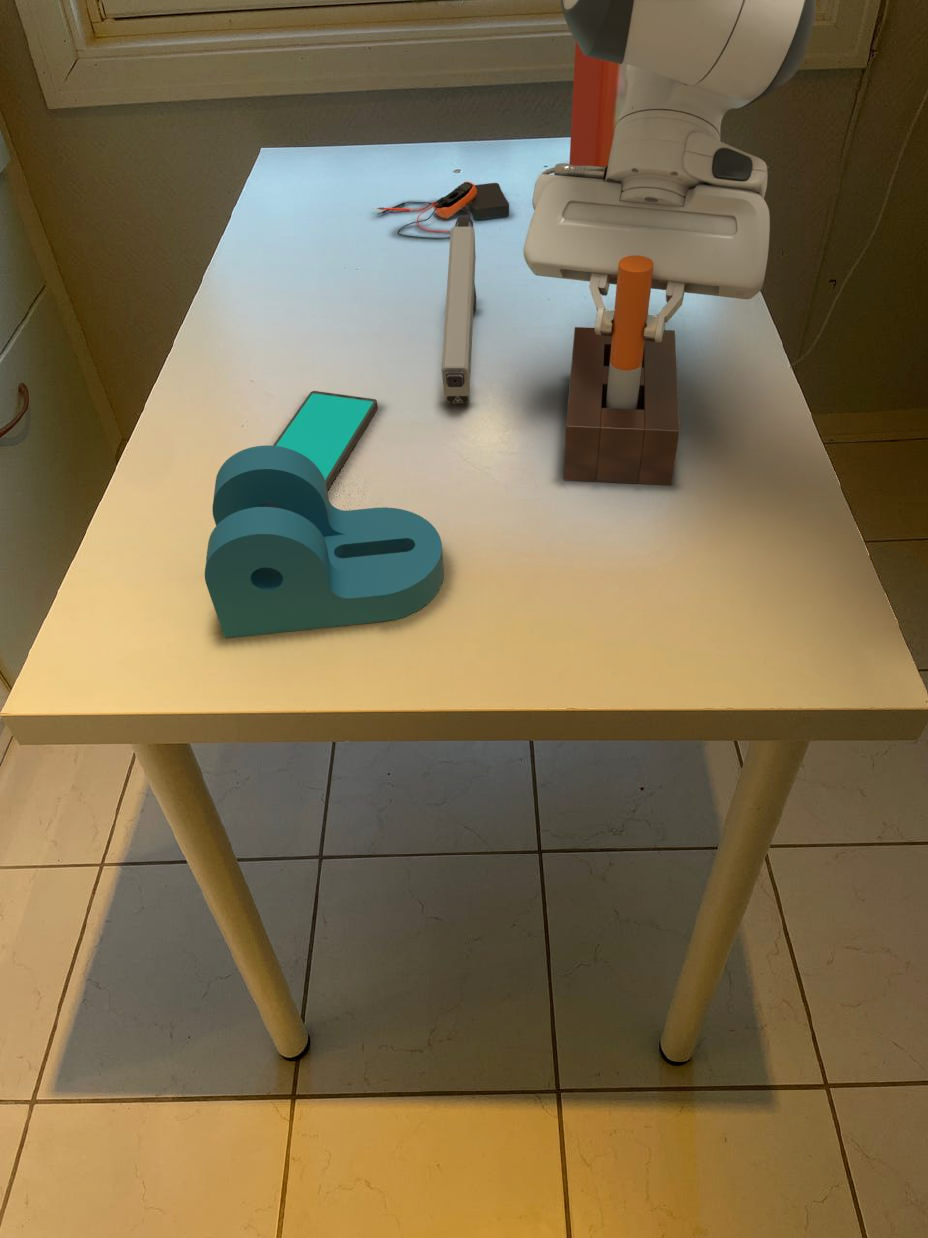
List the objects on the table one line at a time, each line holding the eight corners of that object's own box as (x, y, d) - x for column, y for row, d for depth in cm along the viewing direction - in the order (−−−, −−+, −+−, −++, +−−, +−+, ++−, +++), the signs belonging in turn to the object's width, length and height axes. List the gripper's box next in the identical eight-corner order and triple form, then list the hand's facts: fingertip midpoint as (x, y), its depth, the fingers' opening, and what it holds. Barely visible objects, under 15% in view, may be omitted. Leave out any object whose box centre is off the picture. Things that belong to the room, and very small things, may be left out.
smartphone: (377, 399, 94) (320, 492, 84) (378, 406, 94) (322, 499, 85) (310, 390, 95) (247, 479, 86) (312, 397, 96) (249, 487, 86)
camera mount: (224, 638, 74) (191, 540, 66) (233, 548, 81) (203, 451, 73) (449, 614, 75) (442, 515, 67) (438, 527, 82) (430, 429, 74)
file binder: (626, 188, 127) (651, -103, 104) (652, 246, 116) (687, -67, 92) (567, 192, 127) (579, -99, 104) (588, 250, 116) (607, -62, 92)
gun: (478, 276, 110) (475, 201, 101) (471, 441, 97) (467, 372, 89) (457, 276, 110) (452, 202, 101) (447, 441, 97) (440, 372, 89)
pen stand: (667, 382, 96) (675, 329, 91) (671, 485, 84) (679, 431, 80) (572, 379, 97) (574, 326, 92) (563, 480, 86) (565, 426, 81)
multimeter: (375, 244, 119) (372, 218, 116) (371, 204, 127) (368, 179, 124) (514, 232, 120) (514, 206, 117) (502, 193, 128) (502, 168, 125)
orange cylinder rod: (636, 401, 86) (653, 255, 75) (636, 419, 84) (653, 272, 74) (606, 400, 86) (618, 254, 76) (605, 418, 84) (618, 271, 74)
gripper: (533, 144, 77) (502, 311, 78) (787, 164, 73) (751, 342, 74) (544, 177, 83) (516, 331, 84) (780, 198, 79) (746, 361, 80)
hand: (627, 337), depth 79 cm, fingers closed on orange cylinder rod, 3 cm apart
